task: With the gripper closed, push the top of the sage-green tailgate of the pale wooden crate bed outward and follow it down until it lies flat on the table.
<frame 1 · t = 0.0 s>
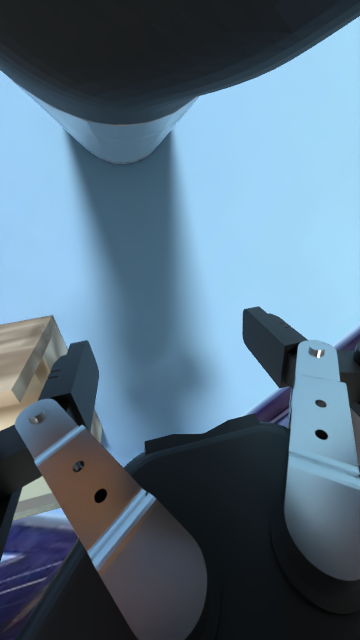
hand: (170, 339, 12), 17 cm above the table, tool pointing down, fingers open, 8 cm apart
tailgate: (10, 478, 33), point 5 cm above the table, hinge at 0.0°
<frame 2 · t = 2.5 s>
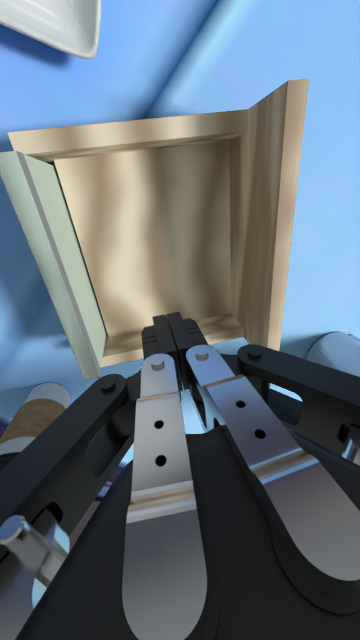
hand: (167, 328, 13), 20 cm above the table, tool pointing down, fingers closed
crate bed: (152, 251, 31), on the table
tailgate: (70, 275, 25), point 5 cm above the table, hinge at 0.0°
coffee cup: (51, 395, 38), on the table
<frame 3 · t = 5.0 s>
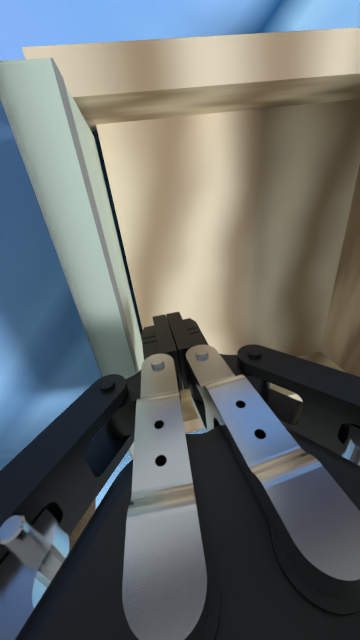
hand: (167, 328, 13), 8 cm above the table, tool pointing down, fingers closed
crate bed: (226, 270, 21), on the table
tailgate: (119, 316, 15), point 5 cm above the table, hinge at 0.0°, touching gripper
coffee cup: (70, 459, 28), on the table
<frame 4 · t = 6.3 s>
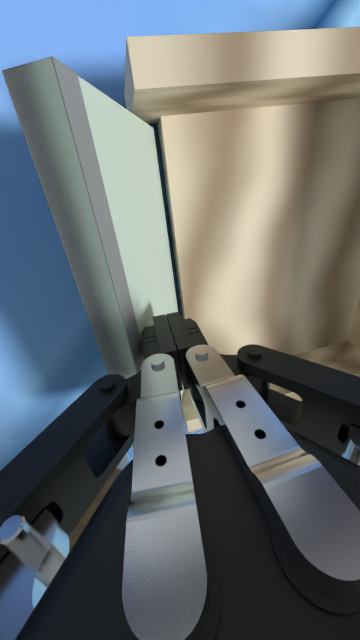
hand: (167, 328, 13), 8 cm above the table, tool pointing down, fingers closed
crate bed: (264, 261, 22), on the table
tailgate: (148, 311, 15), point 5 cm above the table, hinge at 22.9°, touching gripper
coffee cup: (102, 452, 29), on the table
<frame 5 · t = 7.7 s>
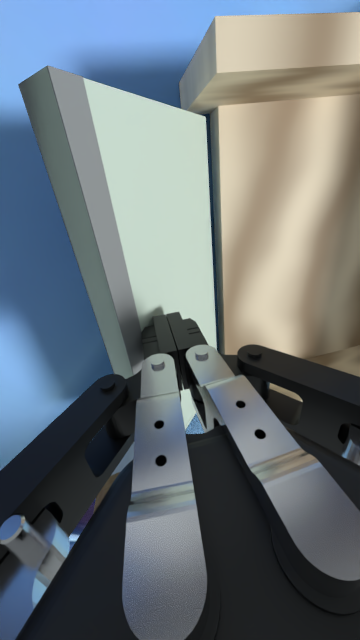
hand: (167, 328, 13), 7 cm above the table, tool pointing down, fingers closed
crate bed: (303, 258, 21), on the table
tailgate: (171, 308, 15), point 4 cm above the table, hinge at 44.5°, touching gripper
coffee cup: (128, 453, 28), on the table
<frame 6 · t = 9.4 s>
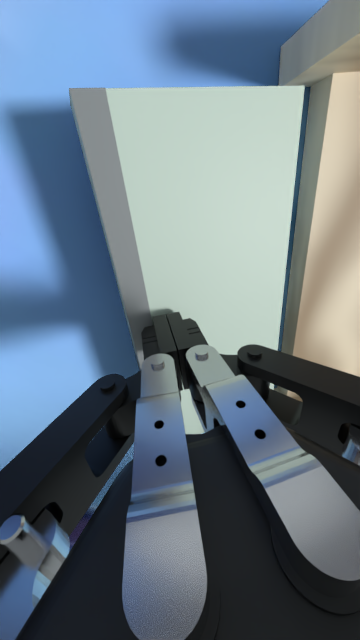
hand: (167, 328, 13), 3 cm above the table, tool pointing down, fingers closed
tailgate: (209, 309, 15), point 2 cm above the table, hinge at 80.6°, touching gripper
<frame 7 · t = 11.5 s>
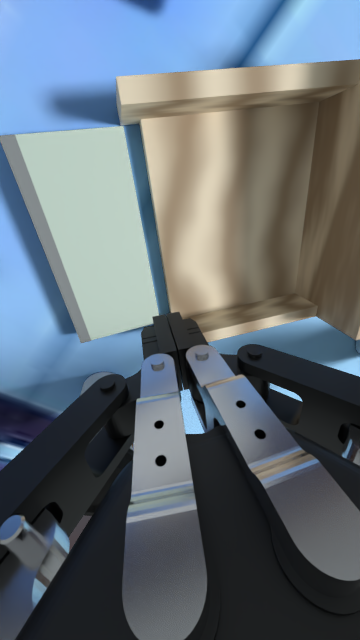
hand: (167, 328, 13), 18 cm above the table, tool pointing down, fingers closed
crate bed: (223, 226, 29), on the table
tailgate: (98, 250, 26), point 1 cm above the table, hinge at 85.1°
coffee cup: (103, 386, 36), on the table
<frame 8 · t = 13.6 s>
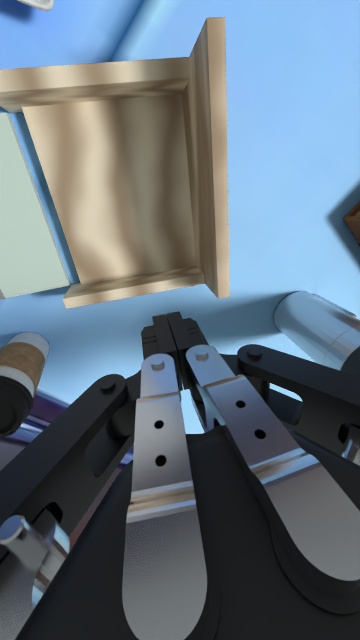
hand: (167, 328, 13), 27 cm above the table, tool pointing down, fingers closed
crate bed: (119, 202, 33), on the table
tailgate: (2, 218, 30), point 1 cm above the table, hinge at 85.1°
coffee cup: (30, 345, 41), on the table
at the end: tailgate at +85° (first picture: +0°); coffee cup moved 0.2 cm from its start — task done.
